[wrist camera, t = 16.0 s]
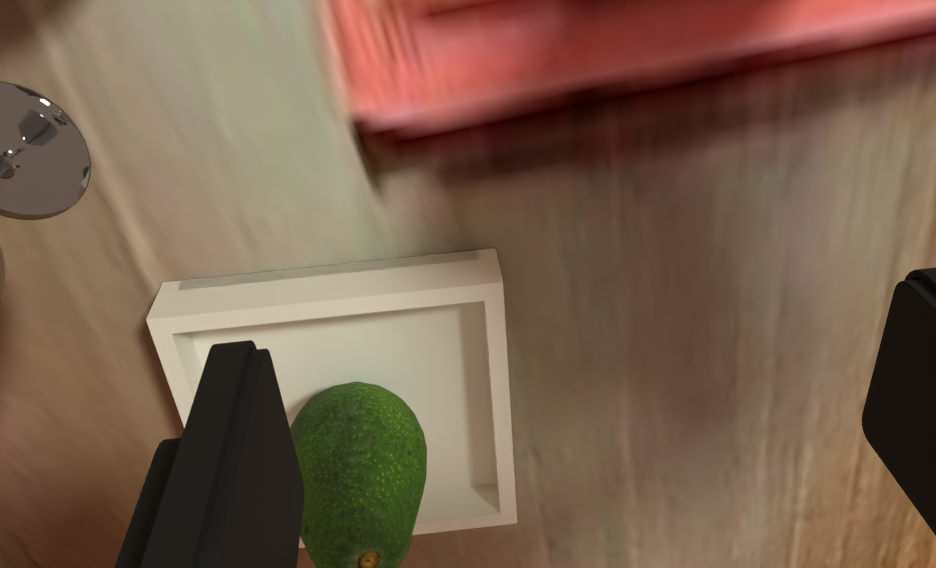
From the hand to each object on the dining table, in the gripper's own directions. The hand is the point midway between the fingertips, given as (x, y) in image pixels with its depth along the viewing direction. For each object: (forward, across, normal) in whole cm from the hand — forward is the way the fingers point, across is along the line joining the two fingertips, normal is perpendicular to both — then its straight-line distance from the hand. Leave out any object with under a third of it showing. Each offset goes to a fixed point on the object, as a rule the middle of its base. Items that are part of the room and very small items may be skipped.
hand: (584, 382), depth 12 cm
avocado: (+28, +8, +23) cm, 37 cm away
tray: (+28, +8, +23) cm, 37 cm away
